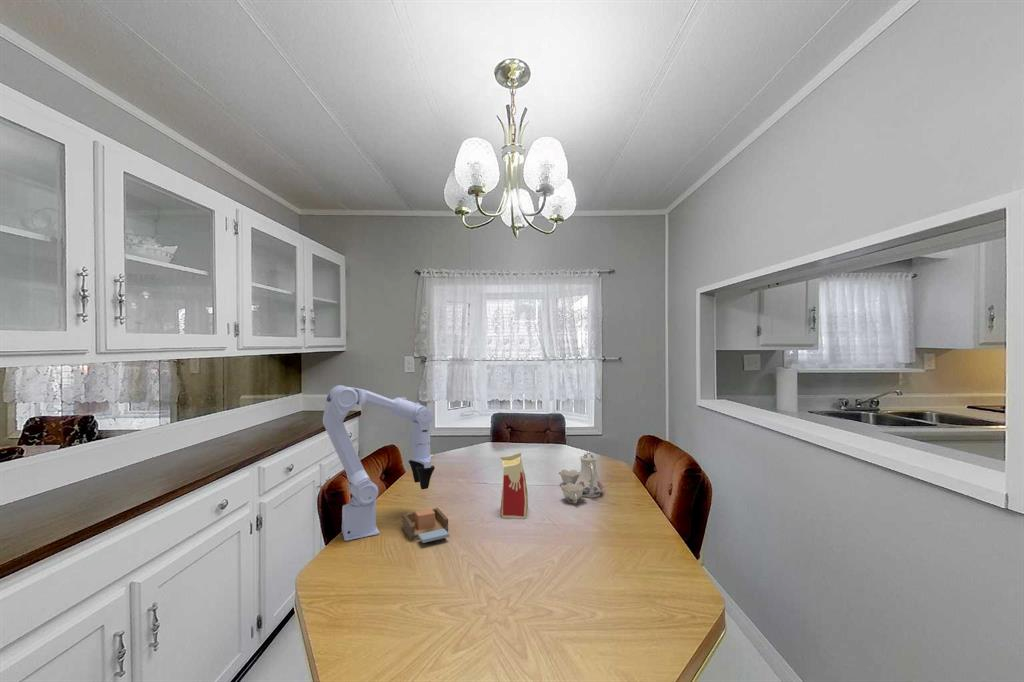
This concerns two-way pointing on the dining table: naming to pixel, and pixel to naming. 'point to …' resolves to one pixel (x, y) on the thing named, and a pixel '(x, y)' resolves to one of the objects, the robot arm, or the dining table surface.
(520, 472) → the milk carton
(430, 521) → the orange brown block
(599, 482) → the chinaware
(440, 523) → the crate
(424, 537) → the panel
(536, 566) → the dining table surface
